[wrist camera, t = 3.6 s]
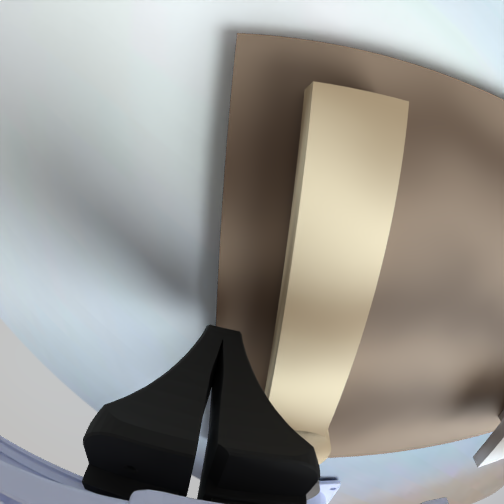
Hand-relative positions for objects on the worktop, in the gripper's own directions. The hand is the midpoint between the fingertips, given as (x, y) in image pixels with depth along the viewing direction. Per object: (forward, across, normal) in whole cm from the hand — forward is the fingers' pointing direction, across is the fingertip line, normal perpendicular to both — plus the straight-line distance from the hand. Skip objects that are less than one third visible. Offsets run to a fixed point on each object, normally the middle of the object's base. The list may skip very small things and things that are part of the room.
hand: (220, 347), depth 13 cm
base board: (+2, -12, -3) cm, 12 cm away
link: (+1, -4, -1) cm, 4 cm away
